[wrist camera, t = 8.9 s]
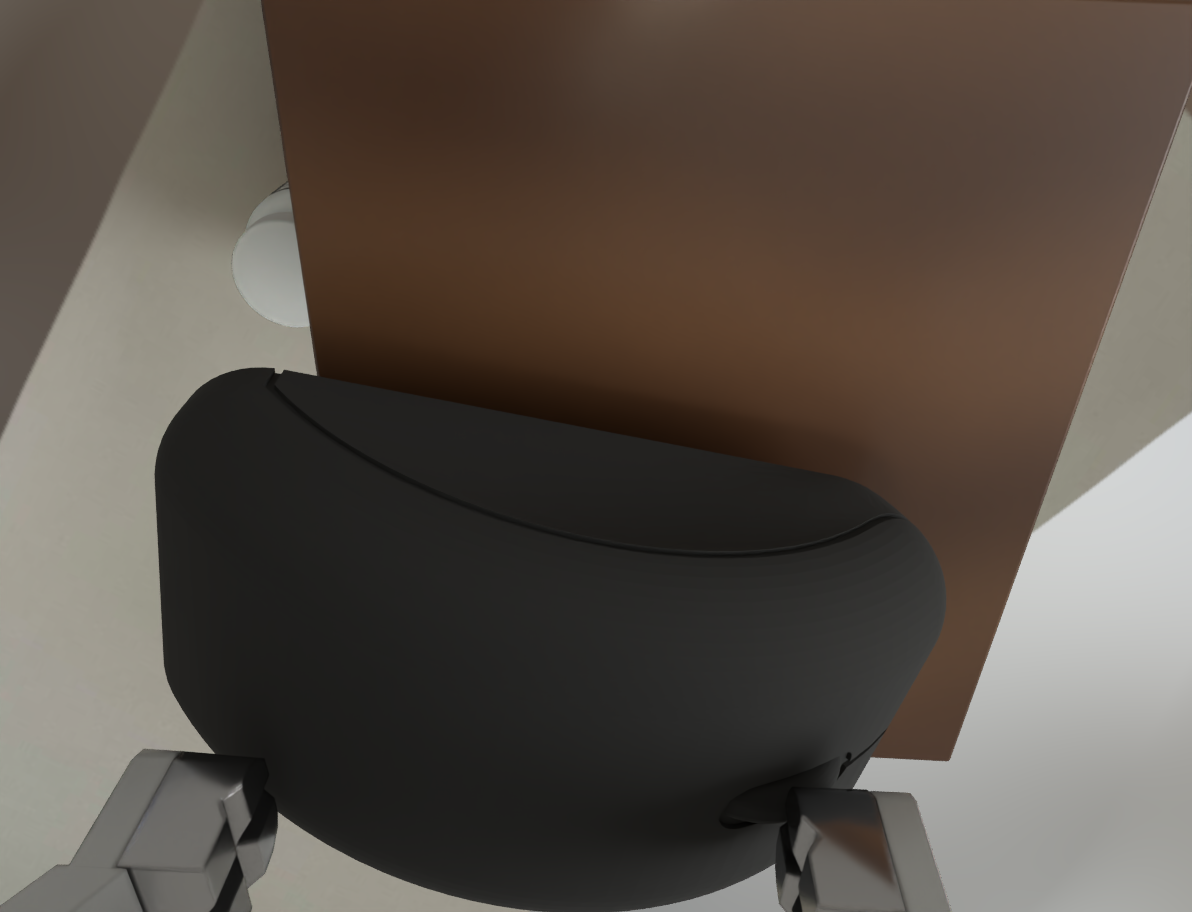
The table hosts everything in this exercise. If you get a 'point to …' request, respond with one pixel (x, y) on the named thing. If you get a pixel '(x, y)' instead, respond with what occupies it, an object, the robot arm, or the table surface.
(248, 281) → the pill bottle
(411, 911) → the table surface
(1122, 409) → the table surface
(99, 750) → the table surface
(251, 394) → the computer mouse
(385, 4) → the shelf
